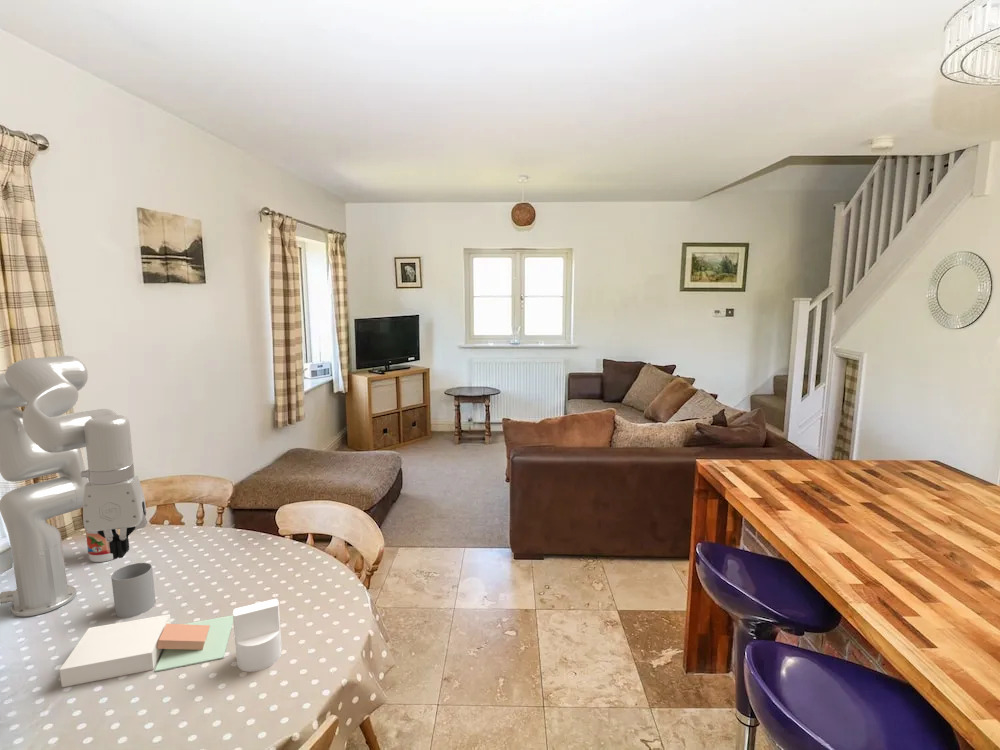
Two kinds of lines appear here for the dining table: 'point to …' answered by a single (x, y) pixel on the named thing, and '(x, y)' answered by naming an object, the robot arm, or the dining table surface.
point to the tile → (183, 636)
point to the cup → (133, 590)
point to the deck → (114, 651)
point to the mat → (211, 649)
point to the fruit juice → (99, 547)
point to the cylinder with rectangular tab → (257, 635)
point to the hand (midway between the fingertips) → (120, 555)
